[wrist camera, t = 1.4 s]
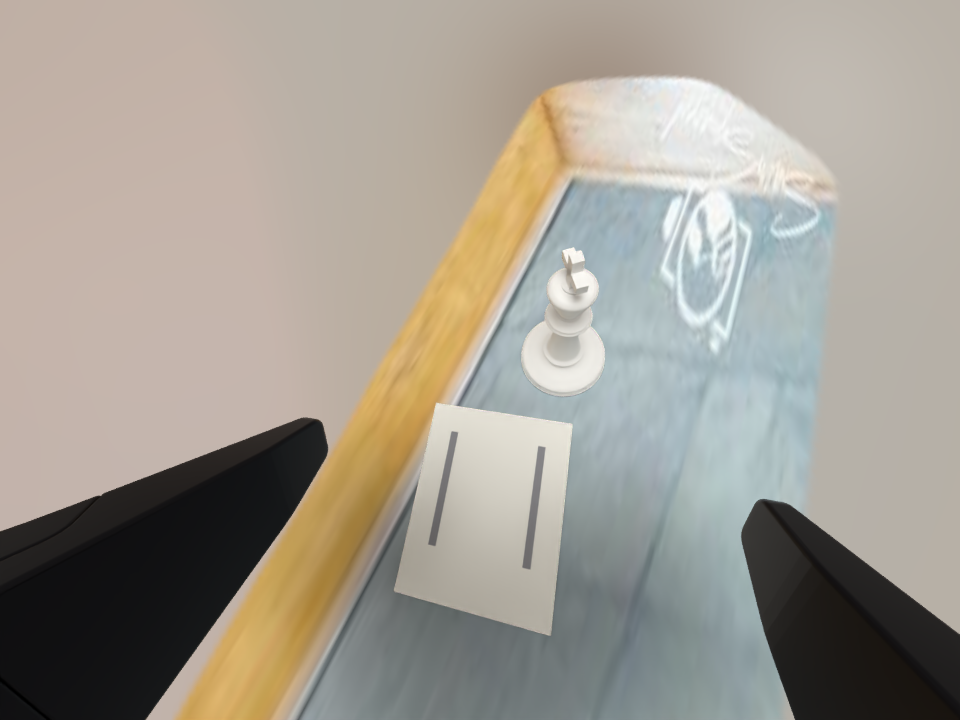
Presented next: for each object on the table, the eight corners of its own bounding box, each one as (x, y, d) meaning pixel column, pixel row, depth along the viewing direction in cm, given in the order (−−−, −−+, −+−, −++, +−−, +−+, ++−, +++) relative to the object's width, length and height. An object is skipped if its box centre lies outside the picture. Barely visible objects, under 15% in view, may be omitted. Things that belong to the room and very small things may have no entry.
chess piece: (589, 311, 22) (622, 183, 13) (617, 384, 20) (679, 298, 11) (512, 332, 22) (491, 222, 13) (532, 405, 21) (525, 339, 11)
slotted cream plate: (550, 632, 17) (550, 636, 16) (396, 589, 19) (393, 591, 18) (572, 425, 20) (572, 423, 19) (438, 404, 22) (436, 402, 21)
